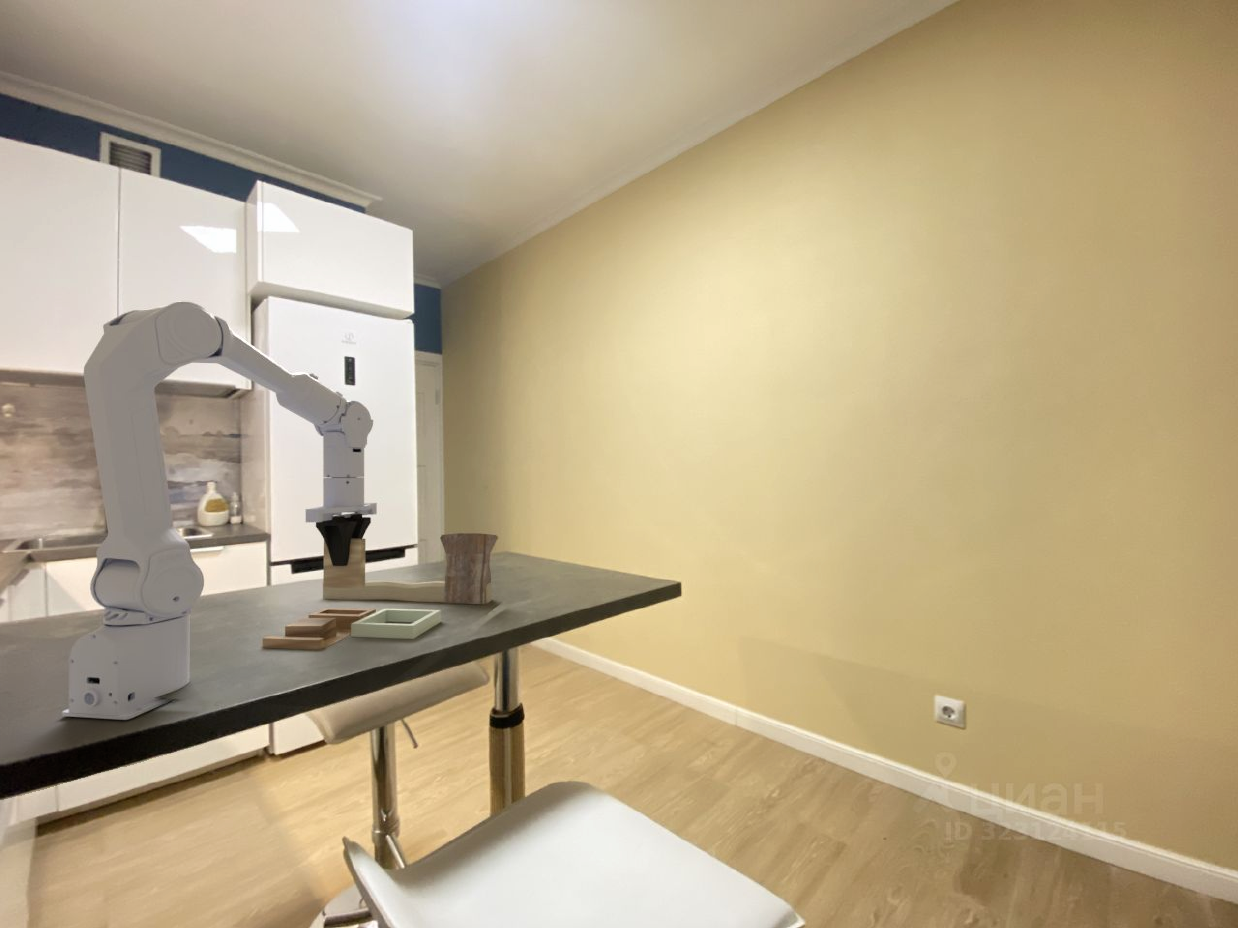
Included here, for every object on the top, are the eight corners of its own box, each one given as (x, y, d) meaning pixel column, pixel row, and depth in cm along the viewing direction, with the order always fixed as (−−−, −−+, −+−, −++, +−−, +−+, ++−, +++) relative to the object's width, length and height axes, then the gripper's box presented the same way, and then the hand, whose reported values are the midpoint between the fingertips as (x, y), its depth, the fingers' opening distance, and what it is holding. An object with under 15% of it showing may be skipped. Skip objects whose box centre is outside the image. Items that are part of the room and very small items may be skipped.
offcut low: (317, 643, 74) (317, 635, 74) (284, 642, 74) (284, 634, 74) (336, 634, 78) (336, 626, 78) (305, 633, 78) (305, 625, 78)
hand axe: (504, 605, 98) (501, 530, 99) (497, 610, 95) (494, 533, 95) (331, 607, 103) (329, 536, 104) (319, 611, 100) (317, 538, 100)
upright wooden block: (359, 588, 82) (359, 539, 82) (323, 587, 83) (323, 539, 83) (364, 586, 83) (365, 538, 84) (329, 585, 84) (330, 537, 84)
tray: (413, 645, 76) (413, 625, 76) (351, 643, 77) (351, 623, 77) (441, 627, 84) (441, 609, 84) (384, 625, 86) (384, 608, 86)
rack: (321, 656, 72) (321, 634, 72) (260, 654, 73) (260, 632, 73) (380, 626, 85) (380, 607, 85) (329, 624, 87) (329, 606, 87)
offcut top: (321, 634, 74) (321, 625, 74) (285, 634, 74) (285, 626, 74) (336, 626, 78) (336, 617, 78) (302, 626, 78) (302, 618, 78)
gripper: (337, 478, 76) (337, 573, 75) (393, 476, 90) (393, 557, 90) (292, 478, 76) (292, 573, 76) (354, 477, 91) (354, 556, 91)
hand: (344, 564), depth 83 cm, fingers closed on upright wooden block, 1 cm apart
